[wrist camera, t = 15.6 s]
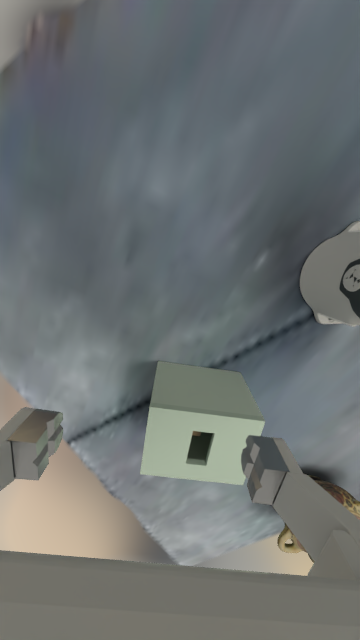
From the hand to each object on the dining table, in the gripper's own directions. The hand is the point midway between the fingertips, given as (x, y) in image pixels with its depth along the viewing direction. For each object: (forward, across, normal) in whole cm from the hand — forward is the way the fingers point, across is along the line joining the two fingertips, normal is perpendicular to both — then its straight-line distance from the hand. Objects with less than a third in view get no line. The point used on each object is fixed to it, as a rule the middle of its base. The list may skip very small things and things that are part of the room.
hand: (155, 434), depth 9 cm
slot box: (+33, -8, +22) cm, 41 cm away
